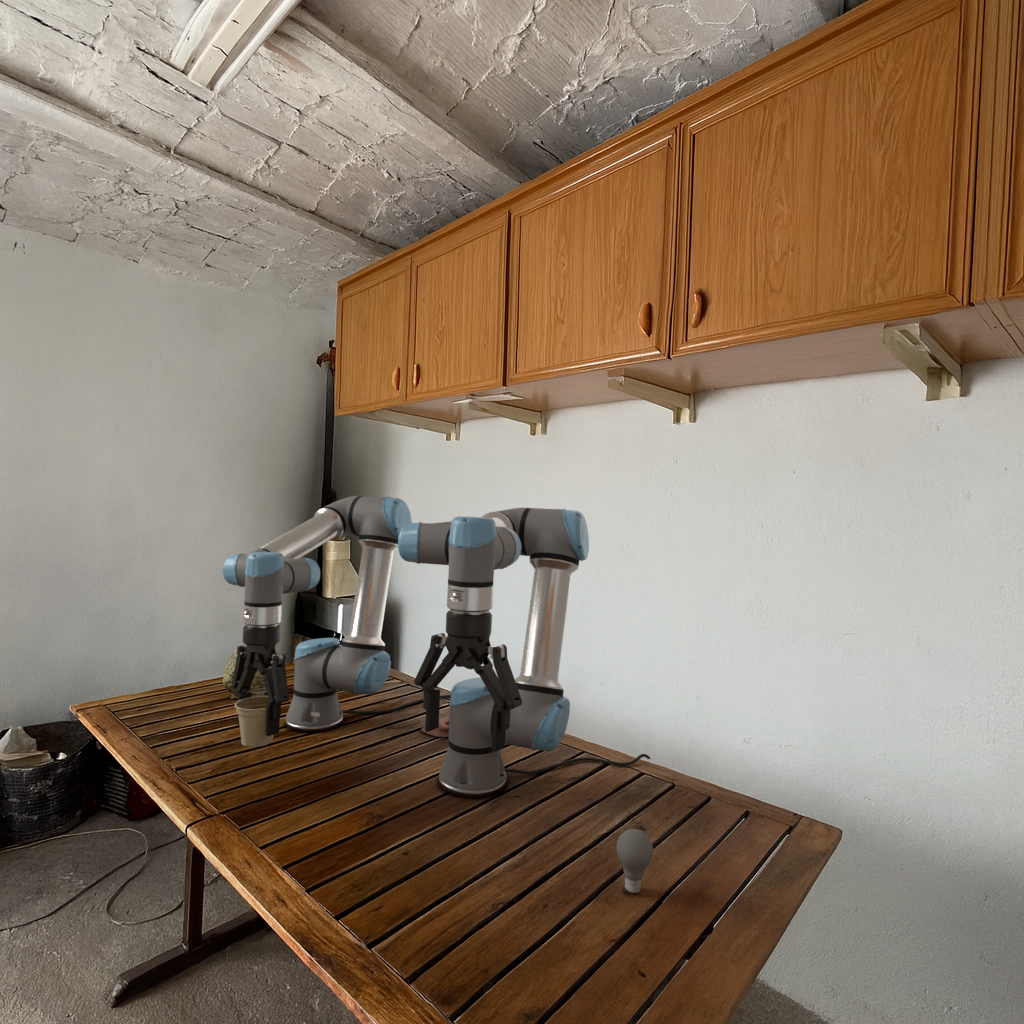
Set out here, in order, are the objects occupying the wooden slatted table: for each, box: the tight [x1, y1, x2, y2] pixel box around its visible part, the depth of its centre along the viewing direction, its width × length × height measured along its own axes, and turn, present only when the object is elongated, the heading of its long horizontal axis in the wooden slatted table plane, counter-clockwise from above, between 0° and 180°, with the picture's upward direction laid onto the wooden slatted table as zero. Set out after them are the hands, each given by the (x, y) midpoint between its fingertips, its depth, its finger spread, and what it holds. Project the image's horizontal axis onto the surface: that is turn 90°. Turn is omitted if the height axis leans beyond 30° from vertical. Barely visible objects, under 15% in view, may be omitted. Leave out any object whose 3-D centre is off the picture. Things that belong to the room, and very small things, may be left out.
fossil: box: [222, 648, 271, 699], centre depth 198 cm, size 9×18×15 cm, turn 132°
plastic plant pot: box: [234, 696, 275, 748], centre depth 136 cm, size 9×9×9 cm
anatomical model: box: [420, 717, 449, 738], centre depth 175 cm, size 13×4×12 cm
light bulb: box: [615, 828, 654, 894], centre depth 106 cm, size 6×6×10 cm
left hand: (257, 728), depth 136 cm, fingers closed on plastic plant pot, 9 cm apart
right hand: (463, 738), depth 104 cm, fingers open, 13 cm apart
